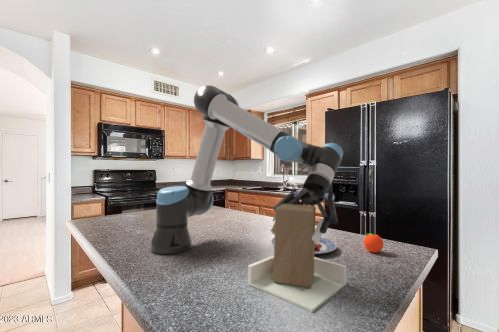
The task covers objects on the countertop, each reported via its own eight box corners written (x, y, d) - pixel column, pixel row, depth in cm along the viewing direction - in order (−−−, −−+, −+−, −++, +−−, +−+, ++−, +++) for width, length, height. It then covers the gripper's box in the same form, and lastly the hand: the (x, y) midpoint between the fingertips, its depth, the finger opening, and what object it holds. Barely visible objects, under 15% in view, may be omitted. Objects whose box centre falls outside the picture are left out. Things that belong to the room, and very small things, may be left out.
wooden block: (280, 268, 77) (282, 203, 77) (313, 274, 73) (315, 205, 74) (272, 282, 67) (274, 208, 67) (311, 289, 64) (313, 211, 64)
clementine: (358, 251, 98) (358, 233, 98) (364, 247, 103) (364, 230, 103) (380, 256, 92) (380, 237, 92) (385, 252, 97) (385, 233, 97)
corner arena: (247, 284, 68) (248, 265, 68) (287, 265, 82) (287, 249, 82) (312, 312, 55) (312, 289, 55) (346, 284, 69) (346, 265, 69)
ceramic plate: (341, 261, 86) (342, 253, 86) (267, 255, 91) (267, 247, 91) (331, 241, 112) (331, 234, 112) (274, 237, 117) (274, 230, 117)
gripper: (361, 191, 74) (340, 255, 62) (290, 186, 91) (262, 235, 79) (355, 173, 70) (331, 238, 59) (281, 171, 87) (252, 221, 75)
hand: (291, 236), depth 69 cm, fingers open, 13 cm apart
